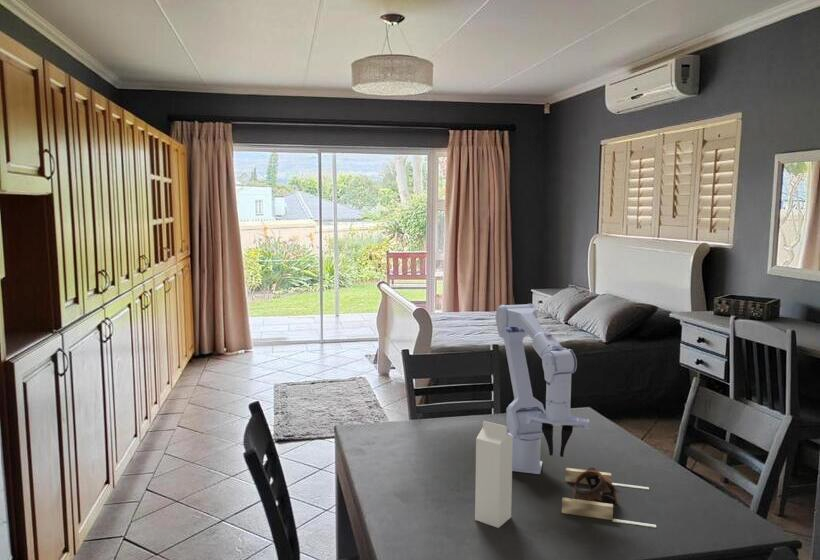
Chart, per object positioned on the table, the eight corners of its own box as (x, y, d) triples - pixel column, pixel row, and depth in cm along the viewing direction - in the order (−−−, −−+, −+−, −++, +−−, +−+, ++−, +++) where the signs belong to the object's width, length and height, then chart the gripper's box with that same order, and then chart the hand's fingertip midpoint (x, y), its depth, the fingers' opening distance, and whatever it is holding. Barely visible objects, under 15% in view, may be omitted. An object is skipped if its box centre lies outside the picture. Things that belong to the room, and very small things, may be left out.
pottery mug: (625, 512, 140) (611, 486, 138) (586, 526, 142) (572, 500, 140) (612, 478, 151) (599, 453, 149) (576, 491, 153) (563, 466, 151)
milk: (488, 509, 140) (489, 416, 138) (511, 517, 137) (513, 422, 134) (474, 520, 135) (475, 424, 133) (498, 528, 132) (500, 430, 130)
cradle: (561, 512, 139) (562, 500, 139) (565, 478, 156) (566, 467, 156) (612, 520, 136) (613, 507, 135) (610, 484, 153) (611, 473, 153)
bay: (612, 521, 135) (612, 520, 135) (610, 483, 154) (610, 482, 154) (656, 527, 132) (656, 526, 132) (648, 488, 151) (648, 487, 151)
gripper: (525, 402, 144) (524, 457, 145) (589, 407, 140) (587, 464, 141) (528, 393, 151) (527, 446, 152) (590, 398, 146) (588, 453, 148)
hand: (556, 454), depth 147 cm, fingers closed
